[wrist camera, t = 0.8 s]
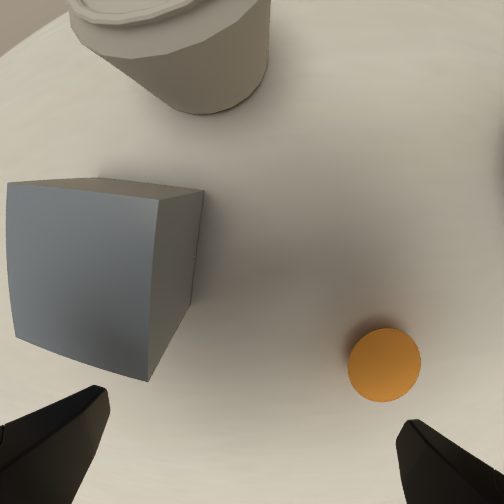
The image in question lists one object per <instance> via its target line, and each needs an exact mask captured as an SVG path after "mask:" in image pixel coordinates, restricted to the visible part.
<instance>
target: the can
mask: <svg viewBox="0 0 504 504" xmlns="http://www.w3.org/2000/svg"><path fill="white" fill-rule="evenodd" d="M65 2H66V3H67V5H68V6H69V13H70V25H71V28H72V30H73V31H74V33H75V34H76V36H77V37H78V39H79V41H80V42H81V44H83V45H84V46H86V47H87V48H89V49H90V50H91V51H93V52H94V53H96V54H97V55H99V56H100V57H102V58H103V59H105V60H106V61H108V62H109V63H110V64H112V65H113V66H115V67H116V68H118V69H119V70H120V71H122V72H123V73H125V74H126V75H127V76H129V77H130V78H132V79H133V80H134V81H136V82H137V83H139V84H140V85H141V86H143V87H144V88H145V89H147V90H148V91H149V92H151V93H152V94H153V95H155V96H156V97H158V98H159V99H160V100H162V101H163V102H165V103H166V104H168V105H169V106H171V107H172V108H174V109H176V110H180V111H183V112H187V113H191V114H210V113H215V112H219V111H222V110H225V109H228V108H231V107H233V106H235V105H236V104H238V103H239V102H241V101H242V100H244V99H245V98H247V97H249V95H250V94H251V93H252V92H253V91H254V90H255V88H256V87H257V86H258V85H259V84H260V83H261V81H262V78H263V76H264V73H265V71H266V68H267V65H268V45H269V25H270V4H271V0H65Z"/></svg>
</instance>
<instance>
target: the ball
mask: <svg viewBox="0 0 504 504" xmlns="http://www.w3.org/2000/svg"><path fill="white" fill-rule="evenodd" d="M420 367H421V357H420V352H419V350H418V347H417V345H416V344H415V342H414V341H413V340H412V338H411V337H409V336H408V335H407V334H406V333H404V332H402V331H400V330H397V329H392V328H383V329H377V330H374V331H372V332H370V333H368V334H366V335H365V336H364V337H362V338H361V339H360V340H359V341H358V342H357V343H356V345H355V346H354V348H353V350H352V352H351V354H350V357H349V361H348V375H349V379H350V381H351V384H352V385H353V387H354V389H355V390H356V391H357V392H358V393H359V394H360V395H361V396H363V397H364V398H366V399H368V400H371V401H375V402H388V401H392V400H395V399H398V398H400V397H401V396H403V395H404V394H406V393H407V392H408V391H409V390H410V389H411V388H412V386H413V385H414V384H415V382H416V380H417V378H418V376H419V372H420Z"/></svg>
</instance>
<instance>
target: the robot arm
mask: <svg viewBox="0 0 504 504" xmlns="http://www.w3.org/2000/svg"><path fill="white" fill-rule="evenodd" d="M109 415H110V404H109V398H108V392H107V390H106V389H105V388H103V387H100V386H97V385H92V386H90V387H88V388H86V389H83V390H81V391H79V392H77V393H75V394H73V395H70V396H68V397H66V398H64V399H62V400H59V401H57V402H55V403H53V404H51V405H48V406H46V407H44V408H42V409H39V410H37V411H35V412H32V413H30V414H28V415H25V416H23V417H21V418H18V419H16V420H14V421H11V422H9V423H6V424H5V425H1V426H0V504H72V501H73V499H74V497H75V495H76V493H77V491H78V489H79V487H80V485H81V483H82V481H83V479H84V476H85V474H86V472H87V470H88V468H89V466H90V464H91V462H92V460H93V458H94V456H95V454H96V451H97V449H98V446H99V443H100V440H101V437H102V434H103V432H104V429H105V426H106V423H107V421H108V418H109ZM396 449H397V455H398V462H399V469H400V476H401V482H402V486H403V490H404V494H405V498H406V502H407V504H504V475H503V474H502V473H500V472H499V471H497V470H494V468H492V467H491V466H489V465H487V464H486V463H484V462H483V461H481V460H480V459H478V458H476V457H475V456H473V455H472V454H470V453H469V452H467V451H466V450H464V449H463V448H461V447H460V446H458V445H456V444H455V443H453V442H452V441H450V440H449V439H447V438H446V437H444V436H443V435H441V434H440V433H438V432H437V431H435V430H434V429H433V428H431V427H430V426H428V425H427V424H425V423H424V422H422V421H421V420H419V419H413V420H407V421H406V422H405V424H404V425H403V427H402V429H401V431H400V433H399V435H398V436H397V439H396Z"/></svg>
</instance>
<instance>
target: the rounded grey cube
mask: <svg viewBox="0 0 504 504" xmlns="http://www.w3.org/2000/svg"><path fill="white" fill-rule="evenodd" d="M203 197H204V191H203V190H196V189H189V188H181V187H174V186H166V185H159V184H150V183H142V182H134V181H125V180H116V179H106V178H73V179H53V180H37V181H23V182H11V183H8V184H7V201H6V254H7V271H8V283H9V293H10V302H11V310H12V317H13V323H14V329H15V335H16V337H17V338H19V339H22V340H24V341H26V342H29V343H31V344H34V345H36V346H39V347H41V348H44V349H46V350H49V351H51V352H54V353H57V354H59V355H62V356H65V357H67V358H70V359H73V360H76V361H79V362H82V363H85V364H88V365H91V366H94V367H97V368H100V369H103V370H107V371H110V372H113V373H117V374H120V375H124V376H127V377H131V378H134V379H138V380H142V381H146V382H149V380H150V378H151V376H152V374H153V372H154V370H155V368H156V367H157V365H158V363H159V361H160V359H161V357H162V355H163V354H164V352H165V350H166V348H167V346H168V344H169V342H170V341H171V339H172V337H173V335H174V333H175V331H176V330H177V328H178V326H179V324H180V322H181V320H182V319H183V317H184V315H185V313H186V311H187V310H188V308H189V306H190V300H191V291H192V282H193V273H194V265H195V256H196V248H197V240H198V233H199V225H200V218H201V211H202V204H203Z"/></svg>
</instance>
